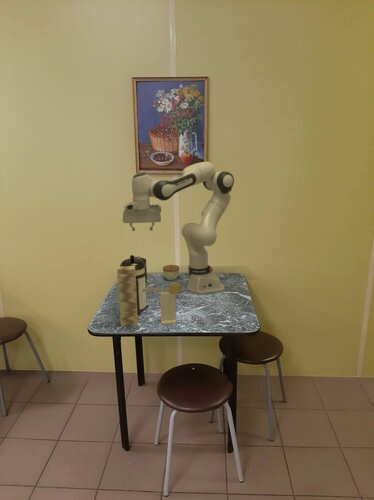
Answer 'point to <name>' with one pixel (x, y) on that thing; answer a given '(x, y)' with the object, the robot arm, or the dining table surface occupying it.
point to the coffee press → (138, 280)
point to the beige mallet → (173, 288)
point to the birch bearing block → (127, 295)
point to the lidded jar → (171, 272)
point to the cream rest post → (167, 308)
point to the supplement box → (145, 266)
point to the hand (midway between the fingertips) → (142, 230)
